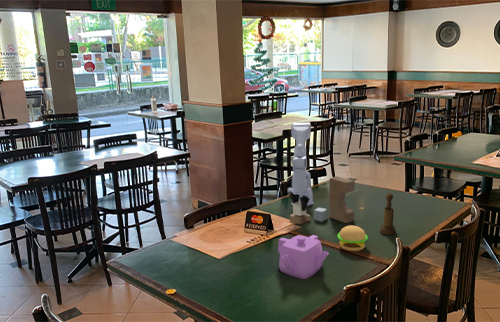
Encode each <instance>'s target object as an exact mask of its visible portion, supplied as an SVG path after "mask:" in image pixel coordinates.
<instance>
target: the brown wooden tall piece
mask: <svg viewBox="0 0 500 322" xmlns="http://www.w3.org/2000/svg"><path fill="white" fill-rule="evenodd" d="M385 199H386V203H385V204H386V207H384V208H383V224H382V225H380V227H379V231H380V234H382V235H385V236H386V235H387V236H393V235H395V234H396V233H397V228H396V226H395V225H394V210H395V209H394V207H392V204H393V203H392V200H393V199H394V195H393V193H391V192H389V193H386V195H385Z"/></svg>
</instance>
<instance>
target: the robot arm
mask: <svg viewBox="0 0 500 322" xmlns="http://www.w3.org/2000/svg"><path fill="white" fill-rule="evenodd" d="M290 125H291V126H290V127H291V128H290V130H291V131H290V133H291V137H292V139H293V140H294V139H295V140H296V145H295V146H294V147H293V159H292V176H291V187H288V188H287V193H289V198H290V199H291V201H292V203H291V205H292V206H293V204H294V203H296V202H301V208H302V211H305V210H306V211H307V207H309V206H310V205H311V206H312V205H314V204H315V202H313V198H314V196H313V190H312V188H311V186H312V185H311V183H312V181H311V179H312V178H311V173H310V172H309V171H307V167H308V163H307V162H308V160H307V148H306V142H307V140H309V139H311V133H312V132H311V128H312V125H311V122H308V123H307V122H306V123H305V122H302V123H301V122H300V123H299V122H297V123H296V122H295V123H294V122H293V123H291V124H290Z"/></svg>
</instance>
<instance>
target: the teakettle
mask: <svg viewBox="0 0 500 322" xmlns="http://www.w3.org/2000/svg"><path fill="white" fill-rule="evenodd" d="M277 253H278V254H279V259H278V260H279V262H278V263H279V265H278V266H279V270H280V272H282V273H284V274H287V275H289V276H291V277H295V278H298V279H300V280H306V279H308V278H310V277H312V276H314V275H315V274H316V273H317V272H318V271H319V270H321V268H322V266H323V264H324V261H325V259H326V258H327V257H328V256H329V254H330V252H328V251H326V250H323V247H322V242H321V241H320V240H319V236H318V235H315V234H312V235H309V236H304V235H301V234H298V235H295V236H293V237H292V238H285V237H281V238H279V239H278V247H277Z"/></svg>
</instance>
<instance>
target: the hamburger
mask: <svg viewBox="0 0 500 322" xmlns="http://www.w3.org/2000/svg"><path fill="white" fill-rule="evenodd" d="M337 239H338V240H339V245H340V247H341V248H342V249H343V250H346V251H348V252H359V251H361V250H364V248H365V246H366V241H367V240H368V235H367V234H366V232H365V230H364V229H362V228H361V227H359V226H358V225H346V226H344V227H343V228H341V230H340V231H339V232H338V233H337Z"/></svg>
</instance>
